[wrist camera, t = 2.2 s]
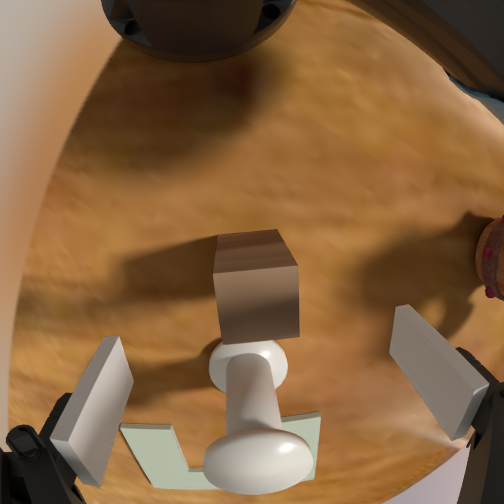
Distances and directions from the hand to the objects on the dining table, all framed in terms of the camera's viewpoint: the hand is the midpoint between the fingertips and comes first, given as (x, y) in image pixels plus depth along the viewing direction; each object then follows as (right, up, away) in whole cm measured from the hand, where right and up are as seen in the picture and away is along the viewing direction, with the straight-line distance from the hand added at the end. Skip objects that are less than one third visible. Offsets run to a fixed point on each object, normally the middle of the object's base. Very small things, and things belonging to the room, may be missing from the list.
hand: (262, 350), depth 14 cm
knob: (-1, -6, +14) cm, 15 cm away
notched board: (-4, -20, +18) cm, 28 cm away
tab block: (-1, +4, +11) cm, 12 cm away
